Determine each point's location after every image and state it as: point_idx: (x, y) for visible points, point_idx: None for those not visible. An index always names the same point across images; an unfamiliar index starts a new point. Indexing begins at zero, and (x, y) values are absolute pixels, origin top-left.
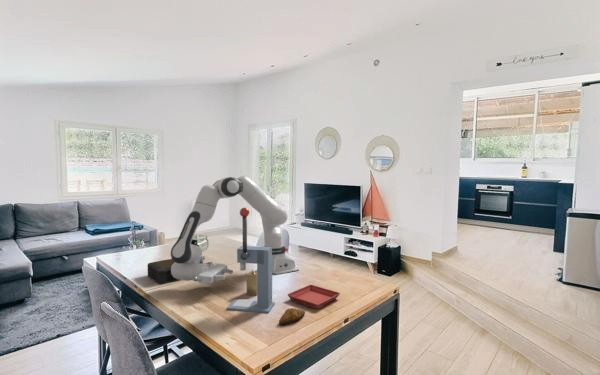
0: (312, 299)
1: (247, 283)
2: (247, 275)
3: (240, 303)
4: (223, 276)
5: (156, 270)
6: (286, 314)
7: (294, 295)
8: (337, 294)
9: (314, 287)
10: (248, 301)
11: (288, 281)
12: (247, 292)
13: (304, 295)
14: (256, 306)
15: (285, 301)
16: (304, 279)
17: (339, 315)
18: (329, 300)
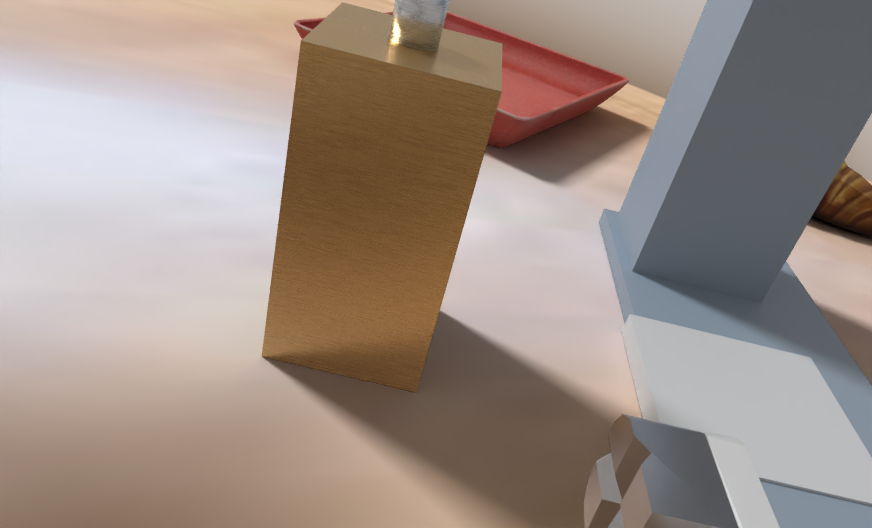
0: None
1: (458, 235)
2: (498, 102)
3: (784, 425)
4: (739, 454)
5: None
6: (855, 172)
7: None
8: (461, 17)
9: None
10: (685, 356)
11: (18, 81)
12: (426, 355)
13: None
14: (753, 307)
15: (527, 173)
16: (19, 24)
17: (627, 88)
18: (518, 53)
